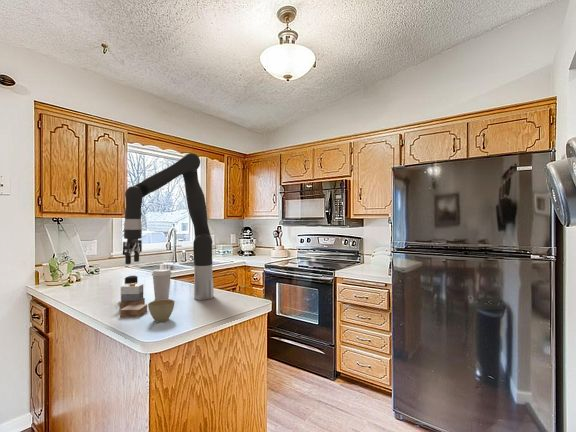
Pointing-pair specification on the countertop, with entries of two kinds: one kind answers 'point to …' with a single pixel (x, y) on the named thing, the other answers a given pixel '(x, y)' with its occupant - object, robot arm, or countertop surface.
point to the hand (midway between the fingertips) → (132, 262)
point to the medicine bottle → (130, 280)
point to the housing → (131, 292)
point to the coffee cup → (161, 283)
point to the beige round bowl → (161, 309)
